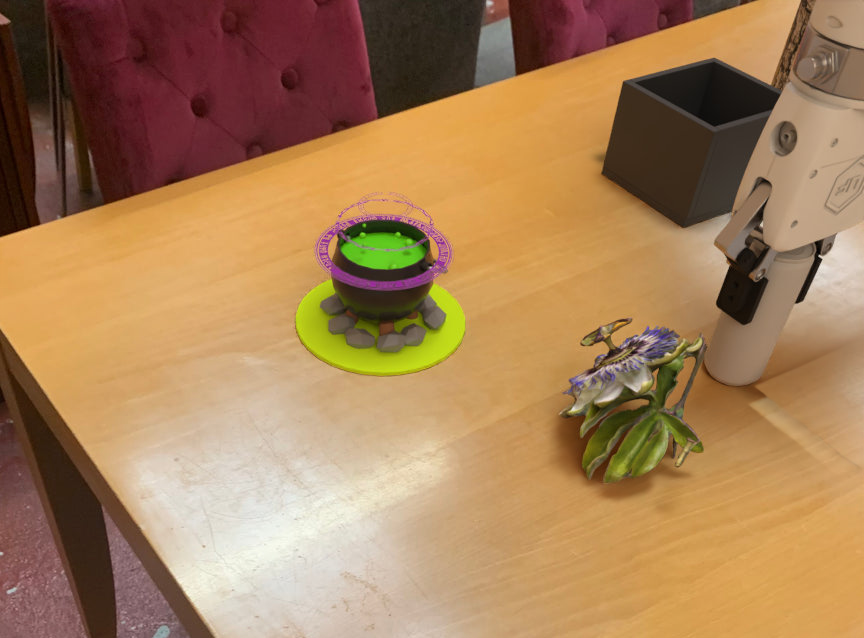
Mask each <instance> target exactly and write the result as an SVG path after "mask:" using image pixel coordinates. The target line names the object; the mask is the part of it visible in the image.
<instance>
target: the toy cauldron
mask: <svg viewBox="0 0 864 638" xmlns="http://www.w3.org/2000/svg"><path fill="white" fill-rule="evenodd" d="M392 194H393V196H394V197H395V196H397V198H400V199H402V200H404V199H405V198H406V201H402V200H397V199H394V200H392V202H394V203H397V204H404V205H407V206H408V207H407V209H406V211H404V212H403V213H401V214H392V213H391V214H390V213H389V214H388V215H383V213H376V214H373V213H370V212H368V211H367V210H366V209H365V207H364V206H362V205H363V204H366V203H369V202H380V201H382V202H389V198H387V199H386V198H377V199H369V197H370V198H371V197H374V196H376V195H377V196H379V195H380V196H381V195H382V193H378V191H377V192H376V191H375V192H374V193H373V192H372V193H368V194H366V195H365V196H363V197H361V198H360V200H358V202H356V203H353V204H351V205H350V206H349V207H345V208H343V210H342V211H340V214H338V215H337V217H336V218H337V219H336V220H335V223H334V224H332V225H331V226H329V227H326V229H324V231H323V232H321V233H320V235H319V236H318V237H317V239H316V240H315V245H314V251H315V253H314V254H313V257H314V256H315V259H316V262H317V264H318V265H319V266H320V267H321V268H322V269H323V270H325V271H326V273H327V274H328V275H329V276H330V279H327V280H325V281H323V282H321V283H320V284H318V285H317V286H315V287H314V288H312V289H311V290H310V291H308V293H306V295H305V296H304V297H303V298H302V300H301V301H300V303H299V305H298V307H297V309H296V312H295V313H296V314H295V318H294V319H295V320H294V322H295V323H294V324H295V331H296V333H297V337H298V338H299V340H300V342H301V343H302V344H303V346H304V347H305V348H306V350H307V351H309V352H310V353H311V354H313V356H315V357H316V358H317V359H319V360H321V361H322V362H324V363H326V364H328V365H330V366H332V367H334V368H337V369H341V370H343V371H346V372H350V373H356V374H359V375H366V376H377V377H384V376H385V377H387V376H401V375H408V374H413V373H417V372H421V371H423V370H426V369H429V368H432V367H434V366H436V365H438V364H440V363H442V362H444V361H445V360H446V359H447V358H449V357H451V355H452V354H454V353H455V352H456V351H457V350H458V348H459V346H460V345H461V344H462V342H463V341H464V337H465V335H466V322H467V321H466V317H465V312H464V310H463V308H462V307H461V305H460V304H459V301H458V300H457V299H456V298H455V297H454V296H453V295H452V294H451V293H450V292H449V291H447V290H446V289H444V288H443V287H441V286H440V285H439V284H437V283H435V282H434V281H435V280H436V279H437V278H438V277H439V276H442V275H446V274H448V273H449V269H450V267H451V266H450V265H451V263H453V262H454V260H455V257H453V254H452V253H453V251H455V249H454V248H453V247H454V245H453V243H452V242H450V238H449V237H447V236H446V235H444V233H443V232H442V230H440V229H438V228H437V227H434V226H435V225H434V220H433V218H432V217H431V215H429V213H428V212H427V211H426V210H424V209H422V208H421V207H420V206H417V205H415V204H413V202H412V201H409V199H408V197H407V196H406V195H403V194H400V193H397V192H392V191H390V192H389V193H388V195H389V196H391V195H392ZM366 196H368V197H366ZM364 198H366V200H364ZM354 207H358V209H359V211H360V212H361V215H355V216H351V217H348V218H345V219H342V220H341V218H342V216H343V214H345V213H346V212H347V211H348V210H350V209H351V208H354ZM409 207H411V209H410V212H413V209H417V210H418V211H419V212H421V213H422V214H423V215H424V216H425V217H426V218H430V219H429V223H427V222H425V221H422V220H420V219H417V218H414V217H410V216H409V214H410V212H409ZM363 210H364V211H363ZM407 211H408V212H407ZM335 236H336V237H337V241H336V245H335V250H334V252H333V255H332V258H331V257H330V255H329V245H330V243H331V241H332V239H333V238H334V237H335ZM430 238H432V239H433V241H434V242H435V244H436V246H437V249H438V257H437V259H435V258H434V255H433V252H432V250H431V240H430Z"/></svg>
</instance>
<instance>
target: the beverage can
mask: <svg viewBox="0 0 864 638" xmlns="http://www.w3.org/2000/svg"><path fill="white" fill-rule="evenodd" d="M765 246H766V245H764V244H762V243H761V242H759V241H758V240H756V239H754V240H753V242H752V244H751V246H750V247H749V249H751V250H752V251H753V252H754V253H755V255H756V257H757V258H758V257H759V255H760V254H761V252H762V250H763V249H764V247H765ZM815 252H816V245H815V243H814V242H812V243H810V244H807V245H804V246H801V247H799V248H796V249H792V250H789V251H785V252H778V254H777V256H776V257H775V259H774V261H773V262H772V264H771V266H770V267H769V269H768V271H767V273H766V274H765V276H764V277H765V278H767V279H768V280H769V281H768V284H767V286H766V288H765V291H764V293H763V296H762V298H761V300H760V303H759V305H758V308H757V310H756V312H755V315H754V317H753V320H752V322H751V323H749V324H746V325H742V324H740V323H739V322H737V321H736V320H734V319H733V318H732V317H730V316H729V315H727V314H726V313H725V312H723V311H722V310H720V313H719V315H718V319H717V321H716V324H715V326H714V328H713V332H712V335H711V338H710V340H709V343H708V345H707V346H708V347H707V350H706V352H705V355H704V359H703V363H704V367H705V369H706V370H707V373H708V374H709V375H710V376H711V377H712V378H713V379H714V380H716V381H717V382H719V383H721V384H724V385H727V386H732V387H745V386H748V385H751V384H753V383H755V382H757V381H758V380H760V379H761V378H762V376H763V374H764V372H765V370H766V368H767V365H768V363H769V361H770V359H771V356H772V355H773V352H774V351H775V348H776V345H777V343H778V342H779V340H780V337H781V334H782V332H783V331H784V328H785V325H786V324H787V321H788V319H789V317H790V314H791V313H792V310H793V308H794V305H796V304H795V301H796V299H797V297H798V295H799V293H800V290H801V288H802V286H803V284H804V282H805V279H806V277H807V275H808V273H809V270H810V268H811V266H812V264H813V262H814V254H815Z"/></svg>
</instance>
